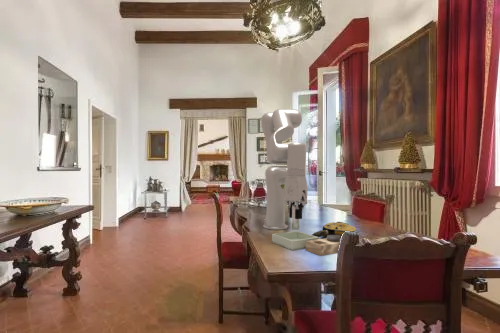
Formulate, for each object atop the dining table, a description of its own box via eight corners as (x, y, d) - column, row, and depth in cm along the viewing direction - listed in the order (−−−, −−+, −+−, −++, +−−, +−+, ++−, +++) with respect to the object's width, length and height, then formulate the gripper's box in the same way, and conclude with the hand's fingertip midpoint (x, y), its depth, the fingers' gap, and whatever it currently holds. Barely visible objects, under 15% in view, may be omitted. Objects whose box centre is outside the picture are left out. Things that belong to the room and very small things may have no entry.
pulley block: (301, 223, 140) (339, 217, 159) (299, 236, 141) (338, 228, 160) (326, 234, 129) (365, 226, 149) (324, 247, 130) (363, 237, 149)
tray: (271, 242, 131) (271, 233, 131) (297, 238, 138) (297, 230, 138) (292, 250, 119) (292, 241, 119) (318, 246, 126) (319, 237, 126)
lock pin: (290, 229, 129) (290, 204, 129) (295, 228, 130) (296, 204, 130) (294, 230, 126) (295, 205, 126) (300, 229, 128) (301, 205, 128)
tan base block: (320, 255, 113) (320, 241, 113) (305, 250, 120) (305, 236, 120) (347, 250, 120) (348, 237, 120) (332, 245, 127) (332, 233, 127)
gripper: (277, 172, 133) (276, 216, 133) (302, 173, 119) (301, 222, 119) (291, 172, 137) (290, 214, 137) (317, 173, 123) (316, 220, 123)
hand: (295, 217), depth 128 cm, fingers closed on lock pin, 3 cm apart
